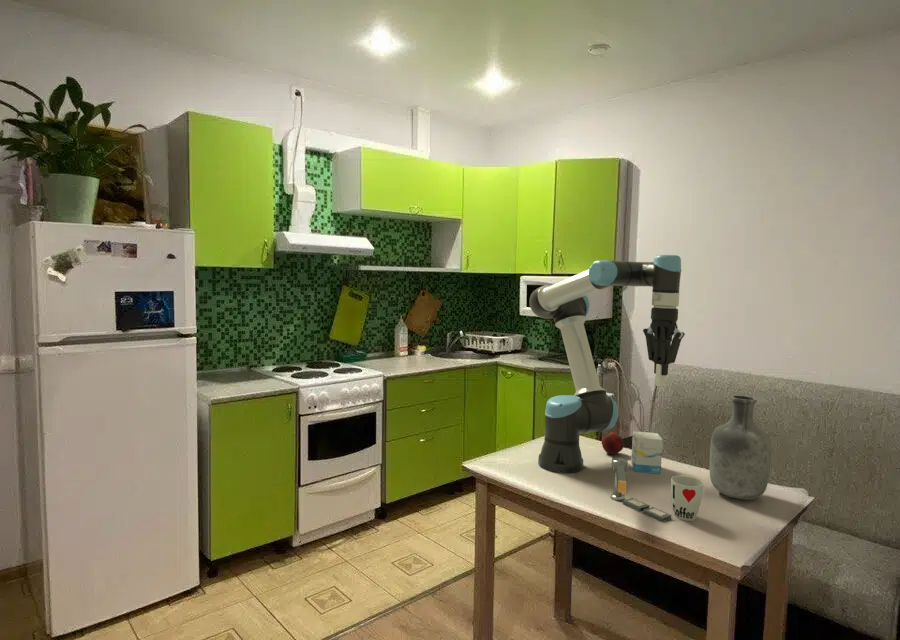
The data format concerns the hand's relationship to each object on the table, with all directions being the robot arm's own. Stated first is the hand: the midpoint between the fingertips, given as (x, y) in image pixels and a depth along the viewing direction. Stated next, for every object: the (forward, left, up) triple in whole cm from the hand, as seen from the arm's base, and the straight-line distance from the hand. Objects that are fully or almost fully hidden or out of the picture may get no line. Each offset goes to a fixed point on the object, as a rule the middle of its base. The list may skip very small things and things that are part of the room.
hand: (660, 385), depth 165 cm
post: (-1, -15, -32) cm, 36 cm away
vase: (+15, +19, -33) cm, 41 cm away
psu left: (+6, -15, -32) cm, 36 cm away
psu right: (+12, -15, -32) cm, 38 cm away
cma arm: (+4, -21, -24) cm, 32 cm away
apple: (-30, +16, -33) cm, 47 cm away
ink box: (-14, +14, -33) cm, 38 cm away
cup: (+16, -9, -33) cm, 38 cm away
